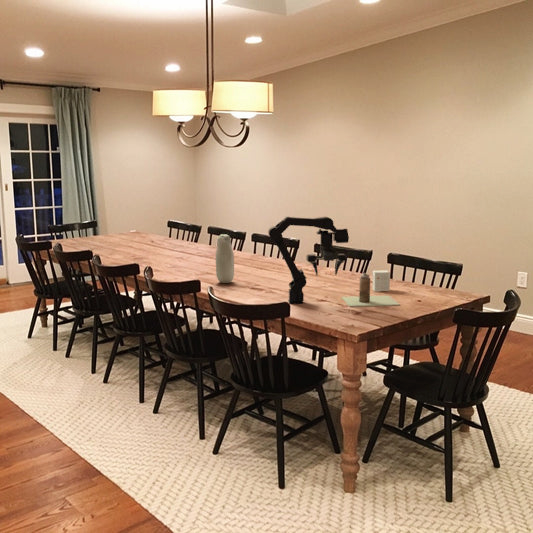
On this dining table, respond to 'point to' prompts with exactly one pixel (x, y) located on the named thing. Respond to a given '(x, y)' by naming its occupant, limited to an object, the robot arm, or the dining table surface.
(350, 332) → the dining table surface
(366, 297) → the pepper mill
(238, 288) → the dining table surface
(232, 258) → the white tall cylinder
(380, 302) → the placemat
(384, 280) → the small box
